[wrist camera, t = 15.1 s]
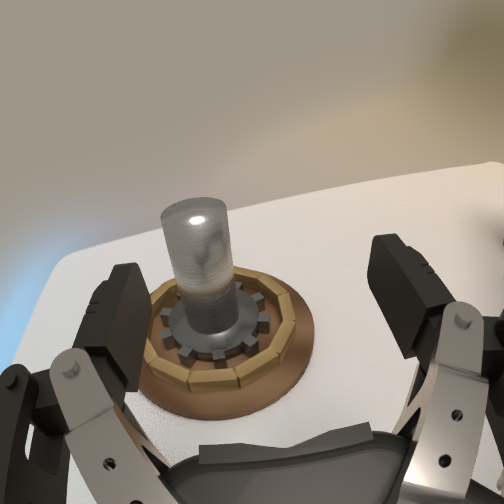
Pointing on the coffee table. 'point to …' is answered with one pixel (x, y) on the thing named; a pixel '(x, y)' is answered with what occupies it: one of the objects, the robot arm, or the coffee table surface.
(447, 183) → the coffee table surface
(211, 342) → the gear
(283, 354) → the carrier disc
